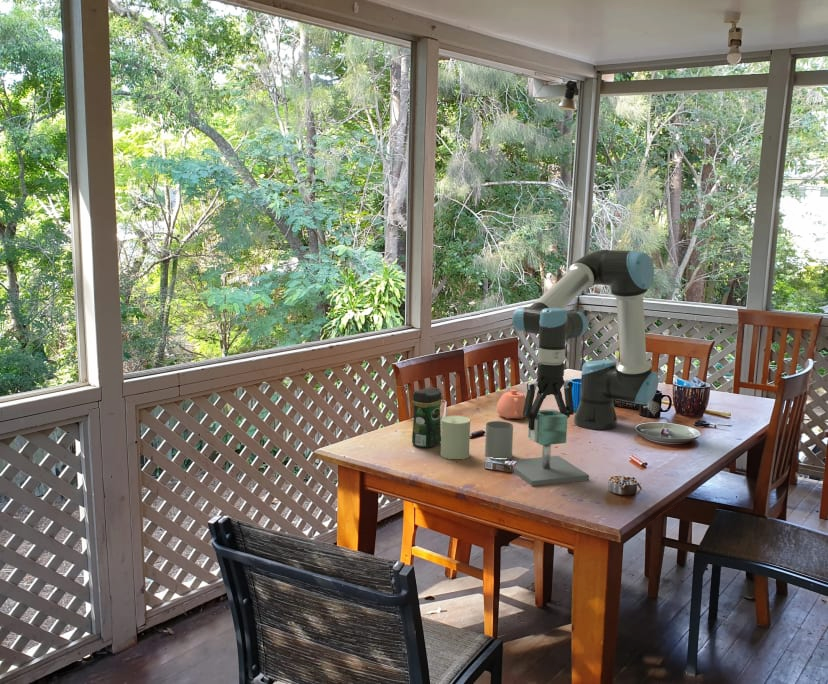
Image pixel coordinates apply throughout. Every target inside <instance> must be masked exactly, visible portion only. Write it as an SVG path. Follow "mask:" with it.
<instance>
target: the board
mask: <svg viewBox="0 0 828 684" xmlns="http://www.w3.org/2000/svg"><path fill="white" fill-rule="evenodd" d="M514 460H515V461H517V464H516V466H515V467H513V470H514V472H513V473H514V474H516V475H517V476H518V477H519V478H520V479H522V480H523V481H524V482H525V483H527V484H528V485H530V486H531V487H536V486H547V485H555V484H564V483H572V482H573V483H574V482H583V481H589V480H590V475H589V474H588V473H586V471H584V470H582V469H580V468H579V467H577V466H576V465H574V464H572V463H571V462H569V461H568V460H566V459H565V458H563V457H561V456H559V455H552V456H551V459H550V469H543V468H542V456H541V457H531V458H530V457H529V458H528V457H527V458H518V459H514Z"/></svg>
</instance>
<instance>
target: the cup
mask: <svg viewBox="0 0 828 684" xmlns="http://www.w3.org/2000/svg"><path fill="white" fill-rule="evenodd" d="M513 435H514V425H513V423H511V422H509V421H508V422H507V421H503V420H501V421H500V420H494V421H493V420H492V421H488V422H486V423H485V441H484V442H485V443H484V445H485V448H484V457H486V458H487V457H493V458H507V460H511V459H512V458H513V440H514V439H513Z"/></svg>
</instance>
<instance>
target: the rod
mask: <svg viewBox="0 0 828 684" xmlns="http://www.w3.org/2000/svg"><path fill="white" fill-rule="evenodd" d="M541 453H542V455H541V457H542V468H543V469H550V459H551V455H552V444H549V445H542V452H541Z"/></svg>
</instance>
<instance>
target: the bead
mask: <svg viewBox="0 0 828 684" xmlns="http://www.w3.org/2000/svg"><path fill="white" fill-rule="evenodd" d="M536 419H537V420H538V429H537V442H536V443H537V444H538V445H540V446H543V445H549V444H551V445H557V444H567V435H568V434H567V433H568V419H569V418H568V416H566V415H564V414H563V413H561V412H560V410H556V409H554V408H553V409H551V408H550V409H539V412H538V414H537V416H536ZM530 436H531V430H530V429H529V428H528V438H529V439H530Z"/></svg>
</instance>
